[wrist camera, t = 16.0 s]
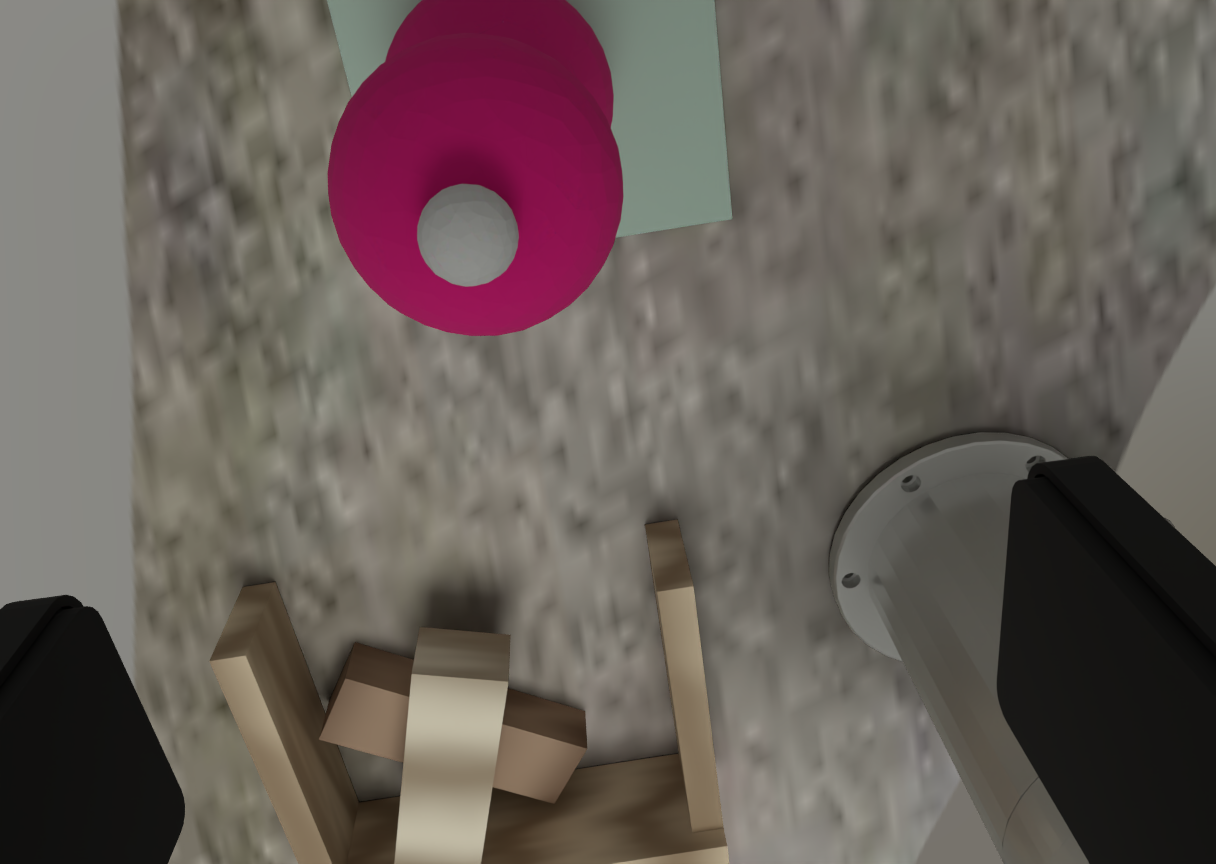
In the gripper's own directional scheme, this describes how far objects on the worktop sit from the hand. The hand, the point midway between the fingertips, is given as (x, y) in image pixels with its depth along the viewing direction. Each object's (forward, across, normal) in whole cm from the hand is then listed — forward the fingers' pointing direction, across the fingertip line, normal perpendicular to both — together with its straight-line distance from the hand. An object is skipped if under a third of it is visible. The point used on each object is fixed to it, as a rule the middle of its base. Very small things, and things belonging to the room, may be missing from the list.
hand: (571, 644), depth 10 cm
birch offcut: (+26, +9, +26) cm, 38 cm away
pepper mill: (+28, +2, -2) cm, 28 cm away
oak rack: (+29, +7, +25) cm, 39 cm away
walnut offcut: (+29, +9, +26) cm, 40 cm away
